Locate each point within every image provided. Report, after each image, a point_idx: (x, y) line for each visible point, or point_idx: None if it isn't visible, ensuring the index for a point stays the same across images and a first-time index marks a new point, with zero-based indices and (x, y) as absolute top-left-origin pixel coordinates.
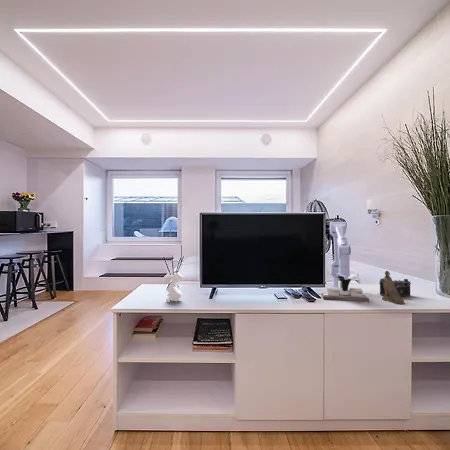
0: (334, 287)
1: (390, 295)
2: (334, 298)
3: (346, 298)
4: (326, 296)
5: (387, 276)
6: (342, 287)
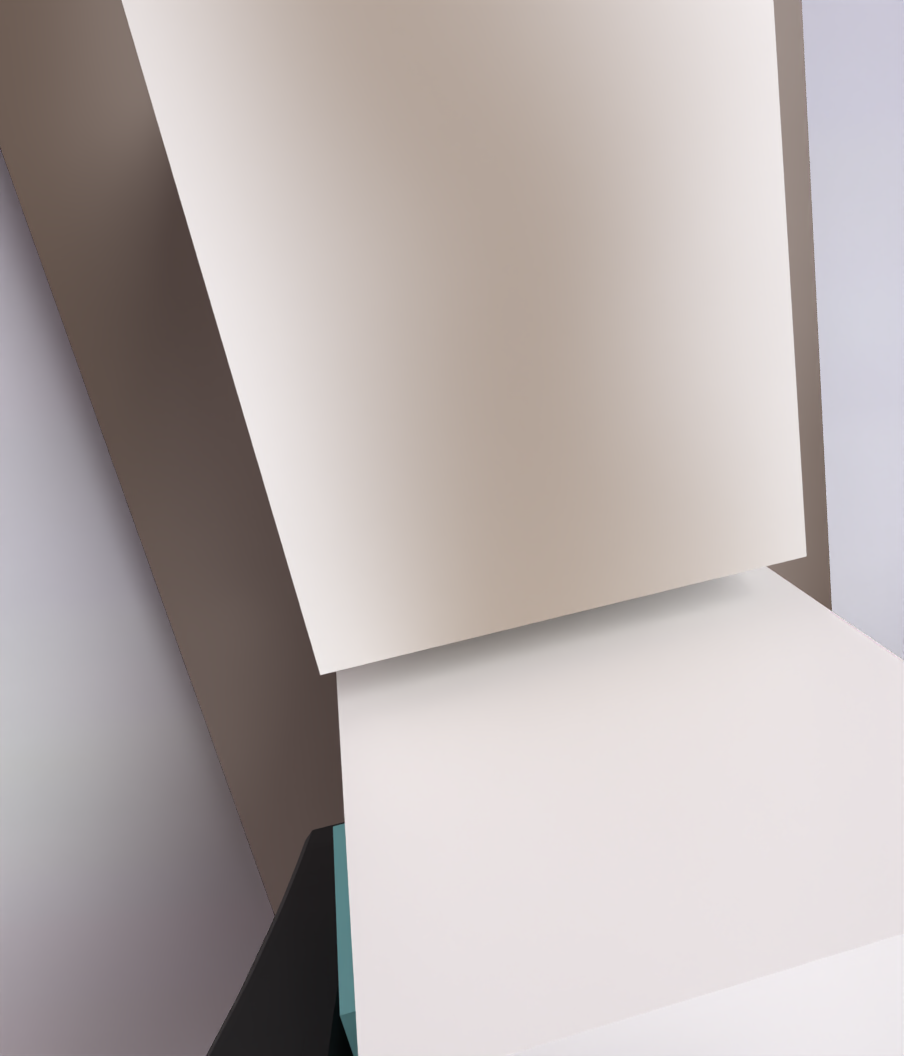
0: (749, 399)
1: None
2: (99, 379)
3: (226, 772)
4: (71, 10)
5: None
6: (300, 932)
